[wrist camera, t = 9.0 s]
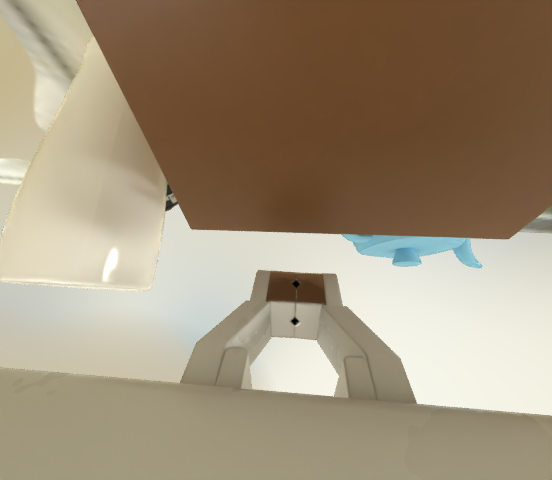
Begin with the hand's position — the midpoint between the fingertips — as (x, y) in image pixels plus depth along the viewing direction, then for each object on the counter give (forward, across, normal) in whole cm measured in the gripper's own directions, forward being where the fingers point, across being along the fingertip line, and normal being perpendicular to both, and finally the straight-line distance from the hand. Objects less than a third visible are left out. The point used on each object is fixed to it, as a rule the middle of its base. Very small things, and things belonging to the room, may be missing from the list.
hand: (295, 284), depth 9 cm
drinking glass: (+13, -11, +8) cm, 19 cm away
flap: (0, +2, +5) cm, 5 cm away
